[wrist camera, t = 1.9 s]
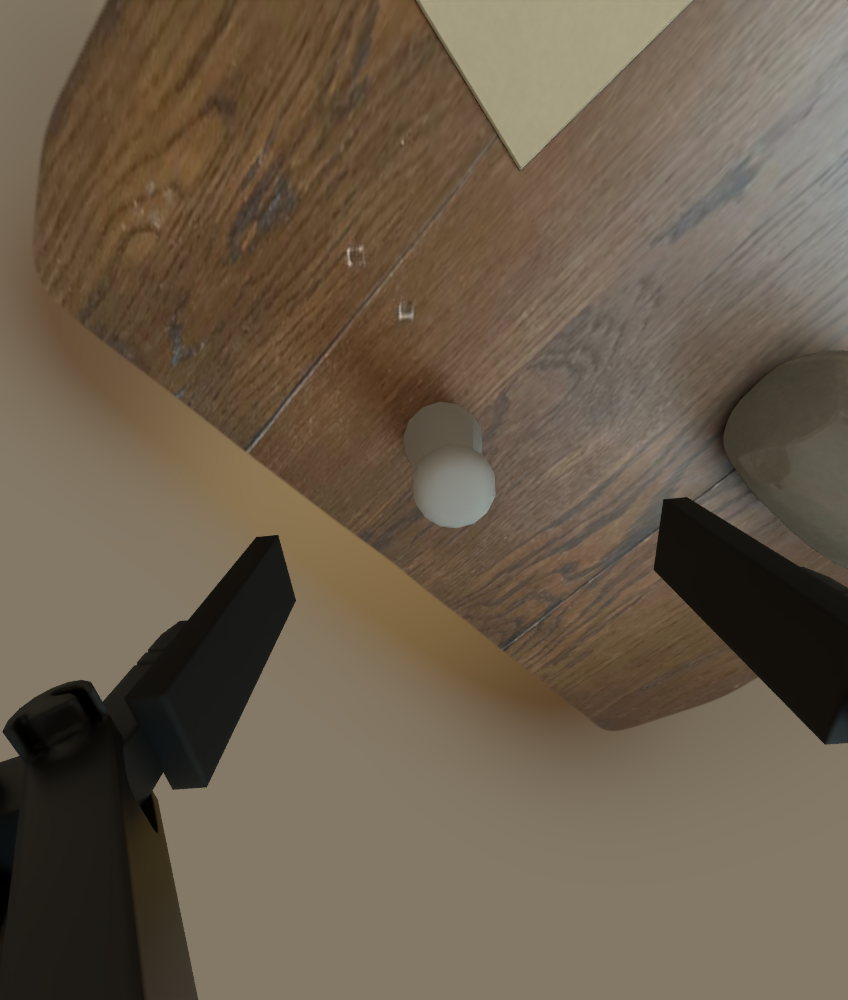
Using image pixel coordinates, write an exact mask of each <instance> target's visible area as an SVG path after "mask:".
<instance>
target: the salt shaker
mask: <svg viewBox="0 0 848 1000" xmlns="http://www.w3.org/2000/svg"><path fill="white" fill-rule="evenodd" d="M403 439H404V449H405V456H406V457H407V459H408V460H409V462H410V464H411V465H412V467H413V468H414V470H415V474H414V477H413V480H412V486H413V496H414V501H415V503H416V505H417V506H418V508H419V509H420V510H421V512H422V513H423V515H424V516H425V518H427V519H429V520H430V521H432V522H434V523H435V524H437V525H439V526H441V527H452V528H460V527H463V526H466V525H470V524H473V523H475V522H476V521H478V520H479V519H480V518H481V517H482V516H483V515H485V514H486V513H487V512H488V510H489V508H490V506H491V504H492V502H493V500H494V498H495V477H494V473H493V471H492V469H491V467H490V465H489V464H488V462H487V460H486V458H485V457H484V456H483V455H482V432H481V428H480V426H479V424H478V422H477V421H476V419H475V417H474V415H473V414H472V413H470V412H469V411H467V410H466V409H464V408H463V407H461V406H460V405H458V404H454V403H446V402H437V403H434V404H431V405H428V406H425V407H423V408H421V409H420V410H419V411H418V412H417V413H416V414H415V415H414V416H413V417H412V418H411V419H410V420H409V422H408V425H407V428H406V431H405V434H404V437H403Z"/></svg>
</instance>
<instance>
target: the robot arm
mask: <svg viewBox="0 0 848 1000" xmlns="http://www.w3.org/2000/svg"><path fill="white" fill-rule="evenodd" d="M654 571H655V572H656V573H657V574H658V575H659V576H660V577H661V578H662V579H663V580H664V581H665V582H666V583H667V584H668V585H669V586H670V587H671V588H672V589H673V590H674V591H675V592H676V593H677V594H678V595H679V596H680V597H681V598H682V599H683V600H684V601H685V602H686V603H687V604H688V605H689V606H690V607H691V608H692V609H693V610H694V611H695V612H696V613H697V614H698V615H699V616H700V617H701V619H702V620H703V621H704V622H705V623H706V624H707V625H708V626H709V627H710V628H711V629H712V630H713V631H714V632H715V633H716V634H717V635H718V636H719V637H720V638H721V639H722V640H723V641H724V642H725V643H726V644H727V645H728V646H729V647H730V648H731V649H732V650H733V651H734V652H735V653H736V654H737V655H738V656H739V657H740V658H741V659H742V660H743V661H744V662H745V663H746V664H747V665H748V667H749V668H750V669H751V670H752V671H753V672H754V673H755V674H756V675H757V676H758V677H759V678H760V679H761V680H762V681H763V682H764V683H765V684H766V685H767V686H768V687H769V688H770V689H771V690H772V691H773V692H774V693H775V694H776V695H777V696H778V697H779V698H780V699H781V700H782V701H783V702H784V703H785V704H786V705H787V706H788V707H789V708H790V709H791V710H792V711H793V712H794V713H795V715H796V716H797V717H798V718H799V719H800V720H801V721H802V722H803V723H804V724H805V725H806V726H807V727H808V728H809V729H810V730H811V731H812V732H813V733H814V734H815V735H816V736H817V737H818V738H819V739H820V740H821V741H822V742H823V743H824V744H839V743H848V588H847V587H845V586H843V585H842V584H840V583H838V582H837V581H835V580H833V579H832V578H830V577H828V576H825V575H823V574H820V573H817V572H815V571H812V570H810V569H807V568H805V567H799V566H797V565H796V564H794V563H792V562H791V561H789V560H788V559H786V558H784V557H783V556H781V555H779V554H778V553H776V552H775V551H773V550H771V549H770V548H768V547H767V546H765V545H763V544H762V543H760V542H758V541H757V540H755V539H754V538H752V537H750V536H749V535H747V534H746V533H744V532H742V531H741V530H739V529H737V528H736V527H734V526H733V525H731V524H729V523H728V522H726V521H724V520H723V519H721V518H720V517H718V516H716V515H715V514H713V513H712V512H710V511H708V510H707V509H705V508H703V507H702V506H700V505H699V504H697V503H695V502H694V501H692V500H691V499H689V498H687V497H684V498H673V499H663V507H662V514H661V521H660V528H659V535H658V542H657V550H656V557H655V564H654ZM295 601H296V599H295V596H294V592H293V588H292V584H291V581H290V577H289V573H288V570H287V566H286V562H285V559H284V555H283V551H282V547H281V544H280V540H279V536H278V535H273V536H264V537H256V538H255V540H254V541H253V542H252V543H251V544H250V546H249V547H248V548H247V549H246V550H245V552H244V553H243V554H242V555H241V557H240V558H239V559H238V560H237V561H236V563H235V564H234V565H233V566H232V568H231V569H230V570H229V571H228V572H227V574H226V575H225V576H224V577H223V578H222V580H221V581H220V582H219V583H218V584H217V586H216V587H215V588H214V590H213V591H212V592H211V593H210V594H209V595H208V597H207V598H206V599H205V600H204V602H203V603H202V604H201V605H200V607H199V608H198V609H197V610H196V611H195V613H194V614H193V615H192V616H191V617H190V619H189V620H188V621H179V622H178V623H177V624H175V625H174V626H172V627H171V628H170V629H168V630H167V631H166V632H164V633H163V634H162V635H161V636H160V637H159V638H158V639H157V640H156V641H155V642H154V644H153V645H152V646H151V647H150V648H149V649H148V653H145V654H144V655H143V656H142V657H141V659H140V660H139V661H138V662H137V665H136V666H134V667H133V668H132V669H131V670H130V671H129V672H128V673H127V675H126V676H125V677H124V678H123V679H122V680H121V682H120V683H119V684H118V685H117V686H116V687H115V688H114V690H113V691H112V692H111V693H110V694H109V695H108V696H107V698H106V699H105V700H104V701H103V702H102V700H101V699H100V697H99V695H98V693H97V692H96V690H95V688H94V686H93V685H92V683H91V682H88V681H84V680H79V681H73V682H67V683H65V684H62V685H59V686H56V687H54V688H52V689H50V690H48V691H46V692H44V693H42V694H40V695H38V696H37V697H35V698H33V699H32V700H31V701H29V702H28V703H27V704H25V705H24V706H23V707H21V708H20V709H19V710H18V711H17V712H16V713H15V714H14V715H13V716H12V717H11V718H10V719H9V720H8V722H7V724H6V726H5V728H4V730H3V733H4V735H5V736H6V737H7V739H8V740H9V741H10V743H11V744H12V746H13V747H14V748H15V750H16V751H17V753H18V754H19V755H20V756H18V757H15V758H12V759H9V760H6V761H3V762H0V1000H198V997H197V992H196V987H195V982H194V977H193V972H192V967H191V962H190V957H189V952H188V947H187V942H186V937H185V932H184V928H183V922H182V917H181V913H180V908H179V903H178V898H177V893H176V888H175V883H174V878H173V873H172V868H171V863H170V859H169V854H168V849H167V843H166V839H165V834H164V829H163V824H162V819H161V814H160V809H159V804H158V800H157V798H156V796H155V794H154V793H153V791H152V790H153V788H154V787H155V785H156V783H157V782H158V780H159V778H160V777H161V775H162V773H163V772H164V774H165V776H166V778H167V780H168V782H169V784H170V785H171V787H172V789H173V790H174V789H188V788H202V787H207V785H208V783H209V781H210V779H211V777H212V775H213V773H214V771H215V769H216V766H217V764H218V763H219V760H220V758H221V756H222V754H223V752H224V750H225V748H226V746H227V744H228V742H229V739H230V737H231V735H232V733H233V731H234V729H235V727H236V725H237V723H238V721H239V719H240V716H241V714H242V712H243V710H244V708H245V706H246V704H247V702H248V700H249V697H250V695H251V693H252V691H253V689H254V687H255V685H256V683H257V681H258V679H259V677H260V674H261V673H262V670H263V668H264V666H265V664H266V662H267V660H268V658H269V656H270V654H271V652H272V650H273V647H274V645H275V643H276V641H277V639H278V637H279V635H280V633H281V631H282V629H283V626H284V624H285V622H286V620H287V618H288V616H289V614H290V612H291V610H292V608H293V606H294V603H295Z"/></svg>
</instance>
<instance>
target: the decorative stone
mask: <svg viewBox="0 0 848 1000" xmlns="http://www.w3.org/2000/svg"><path fill="white" fill-rule="evenodd" d="M723 443H724V449H725V451H726V454H727V456H728V458H729V460H730V461H731V463H732V465H733V466H734V468H735V469H736V471H737V472H738V474H739V475H740V477H741V478H742V479H743V481H744V482H745V483H746V485H747V486H748V487H749V489H750V490H751V491H752V492H753V493H754V494H755V496H756V497H757V498H758V499H759V500H760V501H761V502H762V503H763V504H764V505H765V506H766V507H767V508H768V509H769V510H770V511H771V512H772V513H773V514H774V515H775V516H776V517H777V518H778V519H779V520H780V521H781V522H783V523H784V524H785V525H786V526H787V527H788V528H789V529H790V530H791V531H792V532H793V533H794V534H795V535H796V536H798V537H799V538H800V539H801V540H802V541H804V542H805V543H806V544H807V545H809V546H810V547H811V548H813V549H814V550H816V551H817V552H818V553H820V554H821V555H823V556H824V557H826V558H828V559H829V560H831V561H832V562H834V563H835V564H838V565H840V566H842V567H845V568H847V569H848V351H825V352H819V353H813V354H809V355H806V356H803V357H800V358H797V359H793V360H790V361H788V362H786V363H783V364H781V365H779V366H778V367H776V368H775V369H774V370H772V371H771V372H770V373H768V374H767V375H766V376H765V377H764V378H763V379H762V380H760V381H759V382H758V383H757V384H756V385H755V386H754V387H753V388H752V389H751V390H750V391H749V392H748V393H747V394H746V395H745V396H744V397H743V398H742V399H741V400H740V401H739V403H738V404H737V405H736V407H735V408H734V409H733V411H732V413H731V415H730V417H729V419H728V422H727V424H726V427H725V431H724V436H723Z"/></svg>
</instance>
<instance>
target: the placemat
mask: <svg viewBox="0 0 848 1000" xmlns="http://www.w3.org/2000/svg"><path fill="white" fill-rule="evenodd" d="M692 1H693V0H416V2H417V3H418V5H419V7H420V8H421V10H422V11H423V13H424V15H425V16H426V18H427V20H428V21H429V23H430V25H431V26H432V28H433V29H434V31H435V33H436V34H437V36H438V38H439V39H440V41H441V43H442V44H443V46H444V47H445V49H446V51H447V52H448V54H449V56H450V57H451V59H452V60H453V62H454V64H455V65H456V67H457V69H458V70H459V72H460V74H461V75H462V77H463V78H464V80H465V82H466V83H467V85H468V87H469V88H470V90H471V92H472V93H473V95H474V96H475V98H476V100H477V101H478V103H479V105H480V106H481V108H482V110H483V111H484V113H485V114H486V116H487V118H488V119H489V121H490V123H491V124H492V126H493V127H494V129H495V131H496V132H497V134H498V136H499V137H500V139H501V141H502V142H503V144H504V145H505V147H506V149H507V150H508V152H509V154H510V155H511V157H512V159H513V160H514V162H515V163H516V165H517V167H518V168H519V170H521V169H522V168H523V167H524V166H525V165H526V164H527V163H528V162H529V161H530V160H531V159H532V158H534V157H535V156H536V155H537V154H538V153H539V152H540V151H541V150H542V149H543V148H544V147H545V146H546V145H547V144H548V143H549V142H550V141H551V140H552V139H553V138H554V137H555V136H556V135H557V134H558V133H559V132H560V131H561V130H562V129H563V128H564V127H565V126H566V125H567V124H568V123H569V122H570V121H571V120H572V119H573V118H574V117H575V116H576V115H577V114H578V113H579V112H580V111H581V110H582V109H583V108H584V107H585V106H586V105H587V104H588V103H589V102H590V101H591V100H593V99H594V98H595V97H596V96H597V95H598V94H599V93H600V92H601V91H602V90H603V89H604V88H605V87H606V86H607V85H608V84H609V83H610V82H611V81H612V80H613V79H614V78H615V77H616V76H617V75H618V74H619V73H620V72H621V71H622V70H623V69H624V68H625V67H626V66H627V65H628V64H629V63H630V62H631V61H632V60H633V59H634V58H635V57H636V56H637V55H638V54H639V53H640V52H641V51H642V50H643V49H644V48H645V47H646V46H647V45H648V44H649V43H650V42H651V41H653V40H654V39H655V38H656V37H657V36H658V35H659V34H660V33H661V32H662V31H663V30H664V29H665V28H666V27H667V26H668V25H669V24H670V23H671V22H672V21H673V20H674V19H675V18H676V17H677V16H678V15H679V14H680V13H681V12H682V11H683V10H684V9H685V8H686V7H687V6H688V5H689V4H690V3H691V2H692Z"/></svg>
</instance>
